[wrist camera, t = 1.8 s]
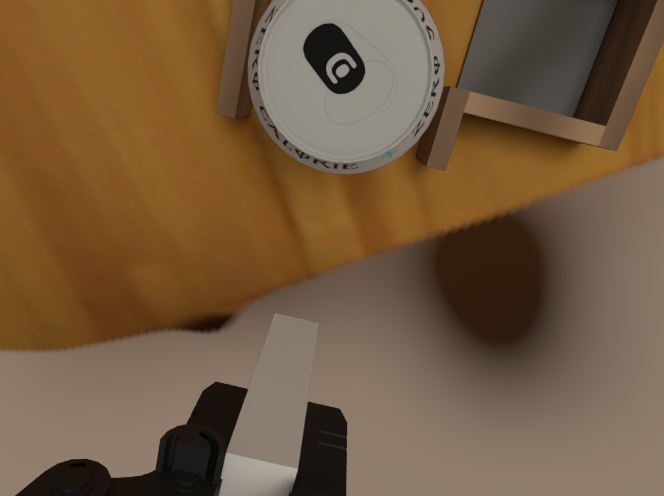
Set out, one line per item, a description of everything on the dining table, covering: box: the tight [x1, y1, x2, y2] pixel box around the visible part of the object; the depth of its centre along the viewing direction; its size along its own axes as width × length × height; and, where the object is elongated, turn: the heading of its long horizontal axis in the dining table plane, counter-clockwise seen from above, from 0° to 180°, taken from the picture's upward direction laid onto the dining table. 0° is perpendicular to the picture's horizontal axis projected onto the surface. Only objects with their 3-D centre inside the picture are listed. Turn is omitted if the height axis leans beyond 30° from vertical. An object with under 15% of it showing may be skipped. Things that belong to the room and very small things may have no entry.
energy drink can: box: [248, 0, 445, 174], centre depth 20 cm, size 6×6×15 cm
